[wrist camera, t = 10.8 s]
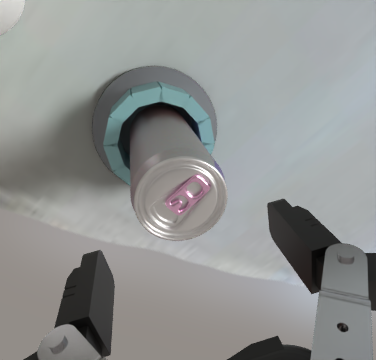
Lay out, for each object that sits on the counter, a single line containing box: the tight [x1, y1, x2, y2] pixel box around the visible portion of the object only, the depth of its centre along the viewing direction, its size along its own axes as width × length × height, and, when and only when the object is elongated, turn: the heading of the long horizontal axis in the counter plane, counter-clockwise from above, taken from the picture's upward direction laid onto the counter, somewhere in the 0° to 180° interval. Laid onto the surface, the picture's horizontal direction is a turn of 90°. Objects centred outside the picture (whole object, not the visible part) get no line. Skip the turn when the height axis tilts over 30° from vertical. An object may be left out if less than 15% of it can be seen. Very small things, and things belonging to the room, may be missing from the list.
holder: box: [92, 66, 217, 186], centre depth 29 cm, size 13×13×5 cm
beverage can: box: [130, 105, 228, 241], centre depth 24 cm, size 6×6×15 cm
